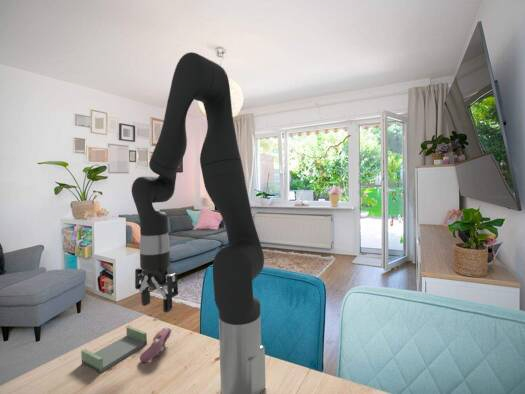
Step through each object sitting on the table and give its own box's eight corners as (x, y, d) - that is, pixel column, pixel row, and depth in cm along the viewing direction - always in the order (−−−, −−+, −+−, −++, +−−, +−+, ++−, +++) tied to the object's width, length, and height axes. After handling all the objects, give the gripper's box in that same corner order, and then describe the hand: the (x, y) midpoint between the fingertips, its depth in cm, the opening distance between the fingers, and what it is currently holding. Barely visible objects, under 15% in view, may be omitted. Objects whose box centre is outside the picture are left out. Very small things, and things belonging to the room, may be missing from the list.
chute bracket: (146, 344, 79) (146, 332, 78) (100, 373, 67) (99, 359, 67) (129, 337, 82) (128, 326, 82) (81, 363, 70) (81, 350, 70)
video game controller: (152, 369, 70) (164, 346, 70) (137, 361, 70) (148, 338, 70) (167, 346, 80) (176, 326, 80) (153, 339, 80) (163, 319, 80)
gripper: (184, 249, 73) (185, 307, 74) (148, 244, 80) (150, 297, 81) (162, 256, 67) (163, 320, 68) (125, 250, 74) (127, 307, 74)
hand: (156, 307), depth 74 cm, fingers open, 8 cm apart
